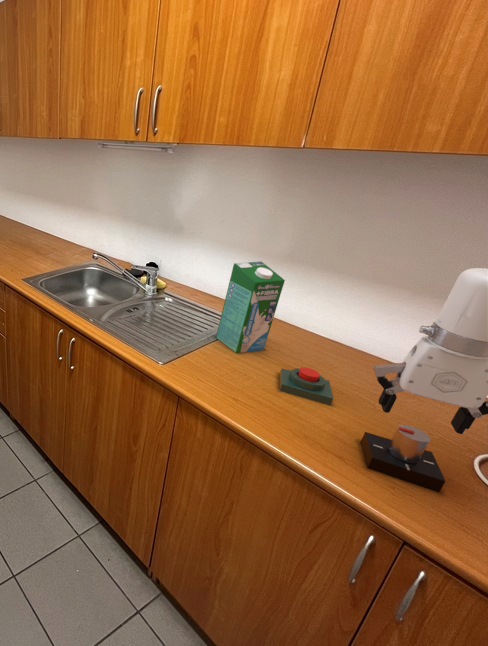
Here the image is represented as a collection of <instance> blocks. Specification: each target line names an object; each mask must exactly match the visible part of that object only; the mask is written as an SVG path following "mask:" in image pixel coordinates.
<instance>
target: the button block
mask: <svg viewBox="0 0 488 646" xmlns="http://www.w3.org/2000/svg"><path fill="white" fill-rule="evenodd" d="M300 368H301V367H298V368H297V367H295V368H293V369H291V370H290V369H286V368H282V367H281V369H280V372H279V375H278V377H279V392H283V393H287V394H290V395H293V396H295V397H300V398H302V399H303V398H304V399H307V400H310V401H314V402H317V403H321V404H324V405H328V406H331V405H332V403H333V400H334V396H333V391H332V387H331V382H330V381H331V380H328V379H325V378H324V377H323V376H322V375H321V374H320V376H319V379H318V381H317V382H309V381H306V380H304V379H302V378H300V377H299V376H298V373H299V370H300Z"/></svg>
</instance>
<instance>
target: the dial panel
mask: <svg viewBox="0 0 488 646" xmlns="http://www.w3.org/2000/svg"><path fill="white" fill-rule="evenodd" d="M391 440H392V438H391V439H390V438H387V437H384V436H380V435H377V434H375V433H370V432H368V431H365V432H364V433H363V436H362V437H361V440H360V442H359V443H360V447H361V451H362V454H363V458H364V463H365V465H366V468H367V469H369V470H371V471H374V472H377V473H379V474H383V475H386V476H389V477H392V478H395V479H398V480H401V481H404V482H407V483H410V484H413V485H416V486H419V487H422V488H424V489H426V490H430V491H433V492H436V493H440V491H441V490H442V488H443V486H444V485H445V483H446V479H445V477H444V475H443V473H442V469H441V468H440V466H439V464H438V462H437V460H436V458H435V455H434V453H433V451H430V450H427V449H425V451H424V453H423V454H422V456H421V458H420V460H419V462H418V463H415V464H412V463H407V462H404V461H401V460H399V459H397V458H396V457H394V456H393V455H391V454H390V453H389V451H388V449H387V448H388V446H389V444H390V442H391Z"/></svg>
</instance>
